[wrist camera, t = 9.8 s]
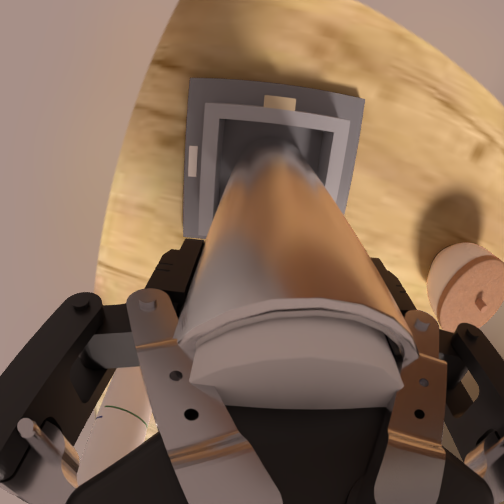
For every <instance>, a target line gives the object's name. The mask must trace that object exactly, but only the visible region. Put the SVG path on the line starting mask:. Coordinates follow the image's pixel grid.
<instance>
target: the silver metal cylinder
mask: <svg viewBox="0 0 504 504" xmlns="http://www.w3.org/2000/svg"><path fill="white" fill-rule="evenodd" d="M385 335H386V336H387V338H388V340H389V343H390V345H391V348H392V350H393V352H394V355H399V354H402V357H405V358H407V359H418V358H419V357H420V354H419V351H418V348H417V345H416V343H415V340H414V337H413V335H412V332H411V330H410V329H409V327H408V325H407V323H406V321H405V319H404V317H403V315H402V313H401V311H400V309H399V308H398V306H397V304H396V302H395V300H394V298H393V297H392V295H391V293H390V291H389V289H388V288H387V286H386V284H385V282H384V280H383V279H382V277H381V275H380V274H379V272H378V270H377V268H376V267H375V265H374V263H373V262H372V260H371V258H370V257H369V255H368V253H367V252H366V250H365V248H364V247H363V245H362V243H361V242H360V240H359V238H358V237H357V235H356V234H355V232H354V230H353V229H352V227H351V226H350V224H349V223H348V221H347V220H346V218H345V216H344V215H343V213H342V212H341V210H340V209H339V207H338V206H337V204H336V203H335V201H334V200H333V198H332V197H331V195H330V194H329V192H328V191H327V189H326V188H325V186H324V185H323V184H322V182H321V181H320V179H319V178H318V176H317V175H316V174H315V172H314V171H313V169H312V168H311V167H310V165H309V164H308V162H307V161H306V160H305V158H304V157H303V155H302V154H301V153H300V151H299V150H298V149H297V148H296V147H295V146H294V145H293V144H292V143H291V142H289V141H287V140H285V139H283V138H279V137H275V136H266V137H261V138H258V139H255V140H253V141H252V142H250V143H249V144H247V145H246V146H245V147H244V148H243V149H242V151H241V152H240V154H239V156H238V158H237V160H236V163H235V165H234V168H233V170H232V173H231V175H230V178H229V180H228V183H227V185H226V188H225V190H224V193H223V195H222V198H221V200H220V203H219V205H218V208H217V211H216V213H215V216H214V218H213V221H212V224H211V226H210V229H209V232H208V234H207V237H206V240H205V243H204V246H203V249H202V251H201V254H200V257H199V260H198V262H197V265H196V268H195V271H194V274H193V276H192V279H191V282H190V285H189V288H188V291H187V294H186V297H185V300H184V302H183V304H182V307H181V310H180V313H179V316H178V324H177V327H176V330H175V333H174V336H173V339H174V338H177V343H178V345H179V346H180V347H181V348H183V349H187V350H195V349H196V352H195V356H194V361H193V365H192V370H191V374H190V378H189V382H190V383H194V384H201V385H209V386H215V387H216V389H217V391H218V393H219V395H220V397H221V399H222V401H223V403H224V405H229V406H243V407H256V408H273V409H352V408H370V407H387V404H388V402H389V401H390V399H391V398H392V397H393V395H394V394H395V392H396V391H397V390H398V389H402V388H403V387H404V384H403V382H402V379H401V376H400V373H399V369H398V366H397V364H396V361H395V359H394V356H393V354H392V351H391V349H390V346H389V344H388V341H387V339H386V337H385Z"/></svg>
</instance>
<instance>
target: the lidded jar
mask: <svg viewBox="0 0 504 504" xmlns="http://www.w3.org/2000/svg"><path fill="white" fill-rule="evenodd" d="M427 295H428V299H429V302H430V305H431V308H432V310H433V312H434V314H435V315H436V317H437V319H438V322H439V324H440V326H441V327H442V329H443V330H445V331H449V332H453V333H454V332H455V330H456V328H457V326H458V325H459V324H460V323H469V324H472V325H474V326H476V327H477V328H479V327H481V326H482V325H484V324H485V323H486V322H487V321H488V320H489V319H490V318H491V317H492V316H493V315H494V314H495V313H496V311H497V310H498V309H499V307H500V306H501V304H502V302H503V300H504V263H503V262H502V261H501V260H500V259H499V258H497V257H496V256H495V255H493V254H492V253H491V252H490V251H488V250H487V249H485V248H483V247H482V246H479V245H477V244H474V243H468V242H464V243H457V244H454V245H452V246H449V247H446V248H445V249H443V250H442V251H440V252H439V253H438V254H437V256H436V257H435V258H434V260H433V262H432V264H431V267H430V271H429V274H428V278H427Z"/></svg>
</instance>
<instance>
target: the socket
mask: <svg viewBox="0 0 504 504" xmlns="http://www.w3.org/2000/svg"><path fill="white" fill-rule="evenodd" d="M364 104H365V99H362V98H357V97H353V96H349V95H344V94H339V93H334V92H329V91H323V90H318V89H312V88H306V87H299V86H292V85H285V84H277V83H269V82H259V81H248V80H235V79H216V78H190V84H189V96H188V110H187V125H186V143H185V167H184V209H183V237H191V238H202V239H206V237H207V234H208V232H209V229H210V226H211V224H212V221H213V218H214V216H215V213H216V211H217V208H218V205H219V203H220V200H221V198H222V195H223V193H224V190H225V188H226V185H227V183H228V180H229V178H230V175H231V173H232V170H233V168H234V165H235V163H236V160H237V158H238V156H239V154H240V152H241V151H242V149H243V148H244V147H245V146H246V145H247V144H249V143H250V142H252V141H253V140H255V139H258V138H261V137H266V136H275V137H279V138H283V139H285V140H287V141H289V142H291V143H292V144H293V145H294V146H295V147H296V148H297V149H298V150H299V151H300V153H301V154H302V155H303V157H304V158H305V160H306V161H307V162H308V164H309V165H310V167H311V168H312V169H313V171H314V172H315V174H316V175H317V176H318V178H319V179H320V181H321V182H322V184H323V185H324V186H325V188H326V189H327V191H328V192H329V194H330V195H331V197H332V198H333V200H334V201H335V203H336V204H337V206H338V207H339V209H340V210H341V212H342V213H343V215H344V213H345V209H346V204H347V200H348V195H349V190H350V185H351V180H352V175H353V170H354V164H355V159H356V153H357V148H358V142H359V136H360V130H361V124H362V117H363V111H364Z"/></svg>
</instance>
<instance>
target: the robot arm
mask: <svg viewBox="0 0 504 504" xmlns="http://www.w3.org/2000/svg"><path fill="white" fill-rule="evenodd" d="M204 243H205V242H204V240H196V239H185V241H184V243H183V245H182V247H181V249H180V250H173V249H171V250H170V251H168V252H167V253H165V254H164V255H163V256H162V258H161V259H160V261H159V264H158V265H157V267H156V268H155V270H154V272H153V274H152V276H151V278H150V279H149V281H148V283H147V285H146V287H145V289H141V290H138V291H136V292H134V293H132V294H131V295H130V296H129V297H128V299H127V302H126V303H125V304H120V305H106V306H103V304H102V300H101V298H100V297H99V296H98V295H96V294H94V293H90V292H83V293H77V294H74V295H72V296H70V297H69V298H67V299H66V300H65V301H64V302H63V303H62V304H61V306H60V307H59V308H58V309H57V310H56V311H55V312H54V313H53V314H52V315H51V316H50V318H49V319H48V320H47V321H46V322H45V323H44V324H43V325H42V327H41V328H40V329H39V330H38V331H37V332H36V333H35V335H34V336H33V337H32V338H31V339H30V340H29V341H28V343H27V344H26V345H25V346H24V347H23V349H22V350H21V351H20V352H19V353H18V355H17V356H16V357H15V358H14V360H13V361H12V362H11V363H10V365H9V366H8V367H7V369H6V370H5V371H4V372H3V373H2V375H1V376H0V487H1V488H3V489H4V490H6V491H7V492H9V493H10V494H12V495H15V496H17V497H18V498H20V499H22V500H23V501H25V502H27V503H29V504H498V503H500V502H502V501H503V500H504V360H503V359H502V358H501V356H500V355H499V354H498V352H497V351H496V349H495V348H494V347H493V345H492V344H491V343H490V341H489V340H488V339H487V337H486V336H485V335H484V334H483V332H482V331H481V330H480V329H479V328H477V327H476V326H474V325H472V324H469V323H460V324H459V325H458V326H457V328H456V330H455V332H454V333H453V332H449V331H445V330H441V329H439V325H438V323H437V321H436V320H435V319H434V318H433V317H432V316H431V315H429V314H428V313H426V312H423V311H420V310H417V309H416V308H415V306H414V304H413V302H412V301H411V299H410V298H409V296H408V294H407V293H406V291H405V289H404V288H403V287H402V285H401V283H400V281H399V280H398V278H397V277H396V276H395V275H393V274H392V273H391V272H390V271H387V270H386V268H385V267H384V265H383V263H382V262H381V260H380V259H379V258H371V257H370V258H371V260H372V262H373V263H374V265H375V267H376V268H377V270H378V272H379V274H380V275H381V277H382V279H383V280H384V282H385V284H386V286H387V288H388V289H389V291H390V293H391V295H392V297H393V298H394V300H395V302H396V304H397V306H398V308H399V309H400V311H401V313H402V315H403V317H404V319H405V321H406V323H407V325H408V327H409V329H410V330H411V332H412V335H413V337H414V340H415V343H416V345H417V348H418V351H419V354H420V357H419V358H418V359H407V358H405V357H402V354H399V355H394V352H393V350H392V348H391V345H390V343H389V340H388V338H387V336H386V335H385V337H386V339H387V341H388V344H389V346H390V349H391V351H392V354H393V356H394V359H395V361H396V364H397V366H398V369H399V373H400V376H401V379H402V382H403V384H404V387H403V388H402V389H398V390H397V391H396V392H395V394H394V395H393V397H392V398H391V399H390V401H389V402H388V404H387V407H370V408H352V409H273V408H256V407H243V406H229V405H224V403H223V401H222V399H221V397H220V395H219V393H218V391H217V389H216V387H215V386H209V385H201V384H194V383H190V382H189V378H190V374H191V370H192V365H193V361H194V356H195V352H196V349H195V350H187V349H183V348H181V347H180V346H179V345H178V343H177V338H174V339H173V336H174V333H175V330H176V327H177V324H178V316H179V313H180V310H181V307H182V304H183V302H184V300H185V297H186V294H187V291H188V288H189V285H190V282H191V279H192V276H193V274H194V271H195V268H196V265H197V262H198V260H199V257H200V254H201V251H202V249H203V246H204ZM138 366H139V367H140V371H141V375H142V378H143V382H144V386H145V389H146V393H147V396H148V399H149V403H150V406H151V409H152V413H153V416H154V419H155V422H156V425H157V428H158V431H159V432H157V433H156V434H155V435H153V436H152V437H150V438H149V439H148V440H146V441H145V442H144V443H142V444H141V445H139V446H138V447H137V448H135V449H134V450H132V451H131V452H130V453H128V454H127V455H125V456H124V457H122V458H121V459H119V460H118V461H116V462H115V463H114V464H112V465H111V466H109V467H108V468H106V469H105V470H103V471H102V472H100V473H98V474H97V475H95V476H94V477H92V478H91V479H89V480H88V481H86V482H84V483H83V484H81V485H80V486H78V483H77V472H78V468H79V456H78V453H77V451H76V450H75V448H74V447H73V446H74V445H75V443H76V441H77V439H78V437H79V435H80V433H81V431H82V429H83V428H84V426H85V424H86V422H87V420H88V418H89V417H90V415H91V413H92V411H93V409H94V407H95V406H96V404H97V402H98V400H99V399H100V397H101V395H102V393H103V391H104V390H105V388H106V386H107V384H108V383H109V381H110V379H111V378H112V376H113V374H114V372H115V371H116V369H117V368H125V367H138ZM468 370H469V371H470V373H471V374H472V376H473V378H474V379H475V381H476V382H477V384H478V386H479V396H478V398H477V399H476V400H475V402H474V403H473V401H472V400H471V398H470V396H469V394H468V392H467V391H466V389H465V387H464V386H463V384H462V382H461V379H462V378H463V377H464V375H465V374H466V373H467V371H468ZM444 422H445V424H446V426H447V428H448V430H449V432H450V434H451V436H452V438H453V440H454V442H455V445H456V447H457V449H458V451H459V453H460V455H461V458H462V460H463V462H464V463H463V462H462V461H460V460H459V459H458V458H457V457H456V456H454V455H453V454H452V453H451V452H449V451H448V450H447V449H446V448H444V447H443V446H442V435H443V427H444Z"/></svg>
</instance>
